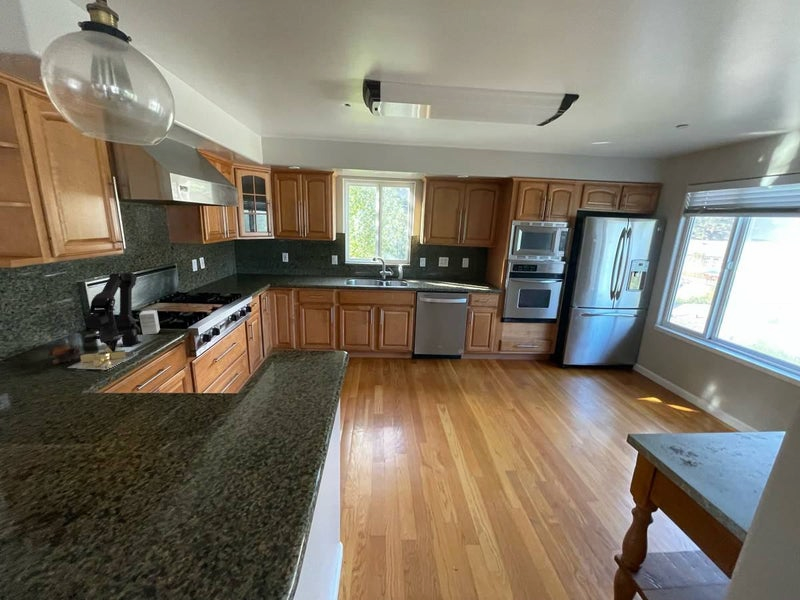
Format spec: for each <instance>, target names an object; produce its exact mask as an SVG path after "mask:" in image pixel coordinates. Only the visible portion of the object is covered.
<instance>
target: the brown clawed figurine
mask: <svg viewBox="0 0 800 600" xmlns="http://www.w3.org/2000/svg"><path fill="white" fill-rule="evenodd" d="M80 350H81V349H80V348H79V347H76V346H74V347H71V345H61V346H56V347H52V348H50V349H48V353H47V357H48V358H49V357H53V356H54V357H55V359H53V360H52V363H53V364H54V362H64V363H66V362H65V361H69V360H71V359H75V358H76V357H77V356H78V355H79V354H80ZM69 362H70V361H69Z"/></svg>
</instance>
